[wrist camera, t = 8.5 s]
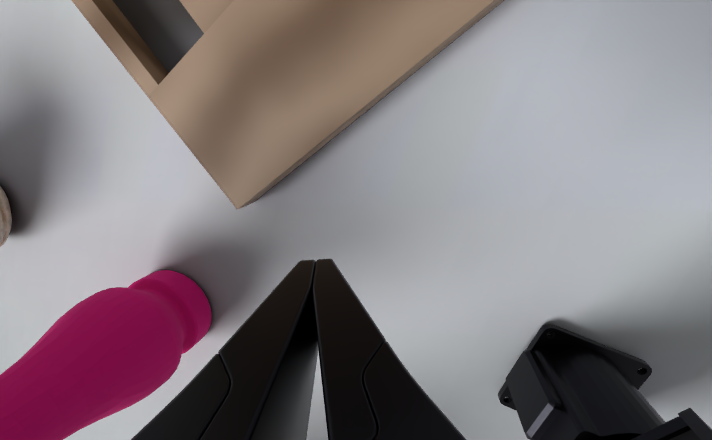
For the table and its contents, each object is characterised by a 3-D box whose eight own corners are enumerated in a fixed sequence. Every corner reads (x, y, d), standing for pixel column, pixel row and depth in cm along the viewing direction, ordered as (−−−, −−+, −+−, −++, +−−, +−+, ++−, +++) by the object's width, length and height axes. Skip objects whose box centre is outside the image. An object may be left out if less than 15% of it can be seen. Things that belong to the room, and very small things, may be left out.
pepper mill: (132, 323, 26) (-672, 851, 7) (141, 248, 23) (-1048, 735, 5) (209, 360, 25) (-458, 1067, 6) (226, 286, 23) (-780, 1064, 4)
